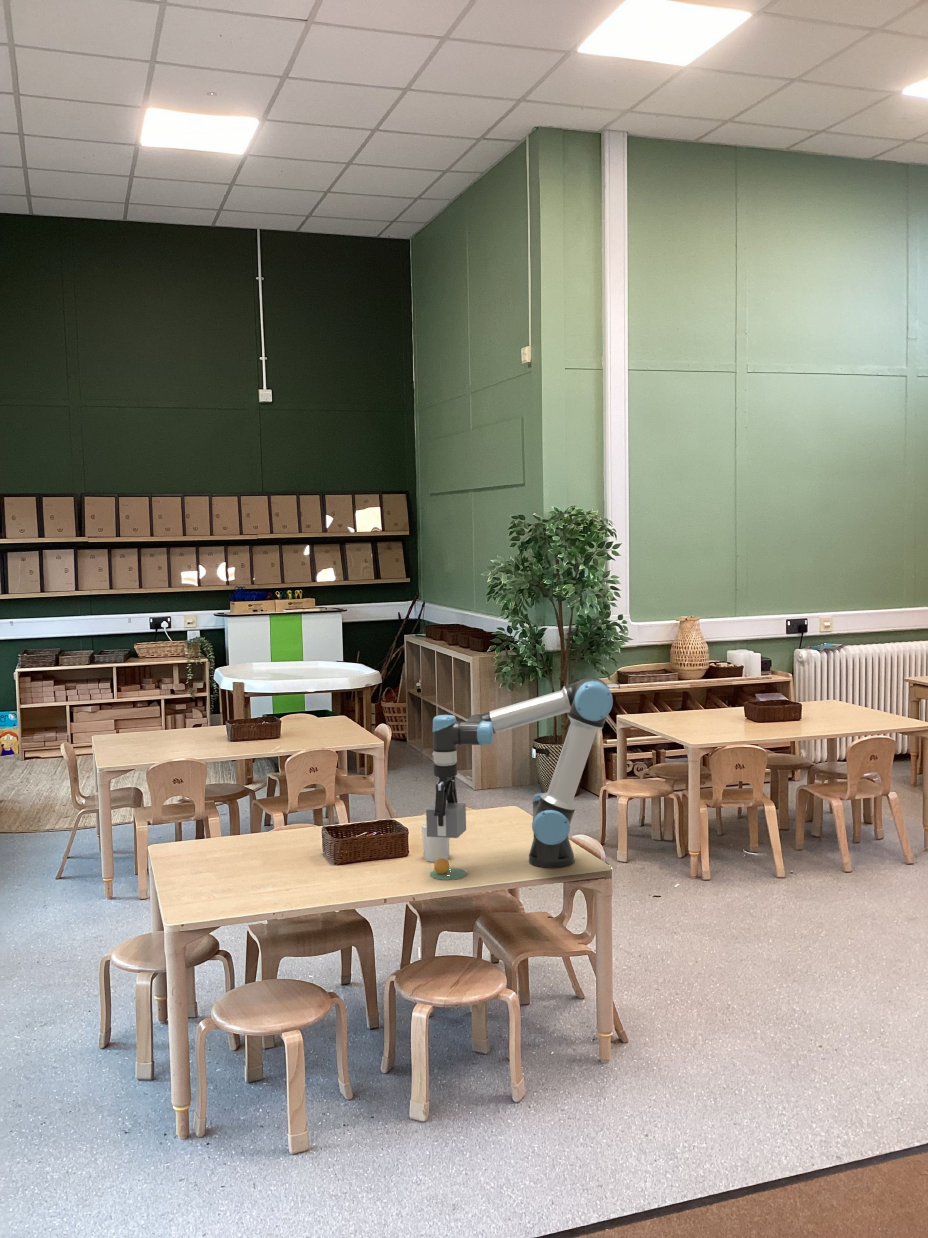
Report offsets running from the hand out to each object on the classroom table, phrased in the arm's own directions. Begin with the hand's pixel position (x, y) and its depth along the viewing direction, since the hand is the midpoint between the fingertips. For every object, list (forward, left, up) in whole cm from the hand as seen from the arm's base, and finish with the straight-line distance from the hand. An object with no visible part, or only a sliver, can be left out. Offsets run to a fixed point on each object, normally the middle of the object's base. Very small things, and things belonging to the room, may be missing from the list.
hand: (447, 831), depth 349 cm
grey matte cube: (0, 0, -1) cm, 1 cm away
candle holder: (+9, -16, -14) cm, 23 cm away
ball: (+2, 0, -12) cm, 12 cm away
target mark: (0, 0, -14) cm, 14 cm away
